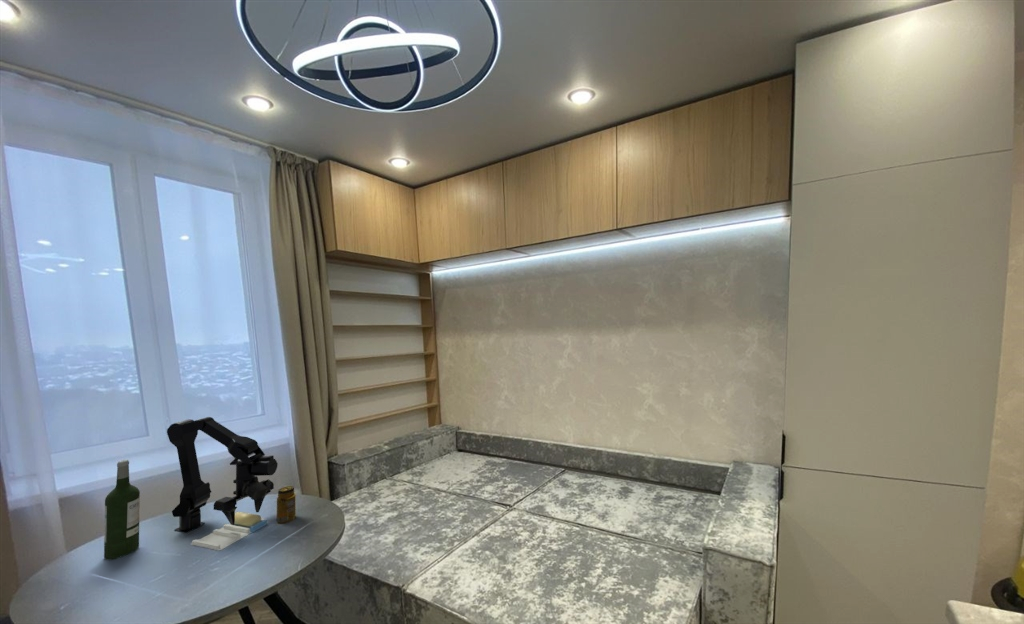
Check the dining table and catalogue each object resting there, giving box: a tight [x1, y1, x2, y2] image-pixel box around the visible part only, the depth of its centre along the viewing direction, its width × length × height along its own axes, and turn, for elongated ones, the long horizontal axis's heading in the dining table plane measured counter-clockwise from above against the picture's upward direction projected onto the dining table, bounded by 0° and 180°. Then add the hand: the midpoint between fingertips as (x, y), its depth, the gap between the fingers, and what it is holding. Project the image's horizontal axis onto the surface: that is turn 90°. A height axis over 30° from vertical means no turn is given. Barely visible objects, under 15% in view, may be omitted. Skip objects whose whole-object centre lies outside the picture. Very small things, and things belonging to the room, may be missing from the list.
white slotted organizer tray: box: [190, 517, 270, 551], centre depth 130 cm, size 14×18×2 cm
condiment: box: [276, 485, 297, 525], centre depth 137 cm, size 7×8×12 cm
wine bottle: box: [103, 459, 141, 561], centre depth 121 cm, size 8×8×30 cm
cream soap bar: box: [234, 511, 262, 527], centre depth 135 cm, size 10×4×4 cm, turn 73°
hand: (245, 518), depth 134 cm, fingers open, 9 cm apart
